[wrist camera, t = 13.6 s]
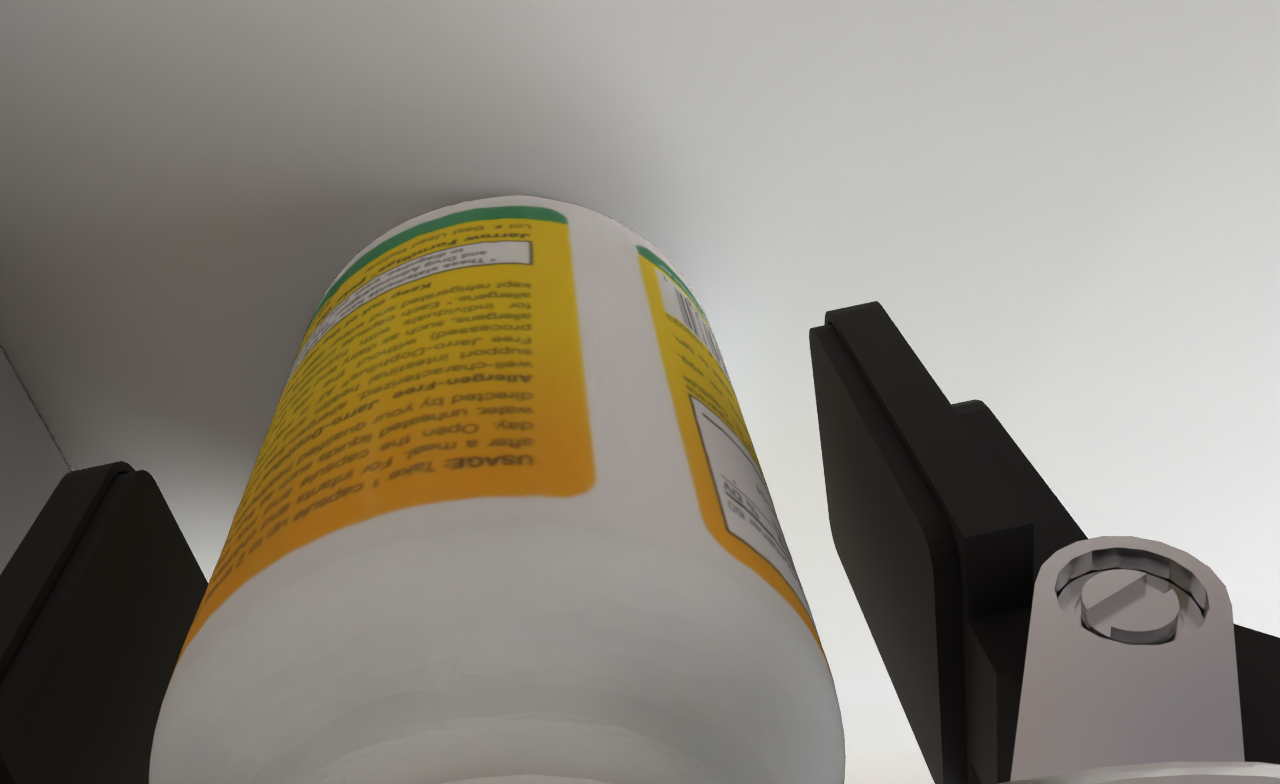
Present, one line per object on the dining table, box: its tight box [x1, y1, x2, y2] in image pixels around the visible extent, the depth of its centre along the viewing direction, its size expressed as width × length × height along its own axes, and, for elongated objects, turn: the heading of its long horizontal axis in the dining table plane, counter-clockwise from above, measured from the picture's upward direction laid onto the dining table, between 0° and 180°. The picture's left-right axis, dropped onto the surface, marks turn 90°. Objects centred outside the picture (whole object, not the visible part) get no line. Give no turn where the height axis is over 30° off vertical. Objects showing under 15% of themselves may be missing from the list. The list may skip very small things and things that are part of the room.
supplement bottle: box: [149, 195, 845, 784], centre depth 10 cm, size 5×5×10 cm
